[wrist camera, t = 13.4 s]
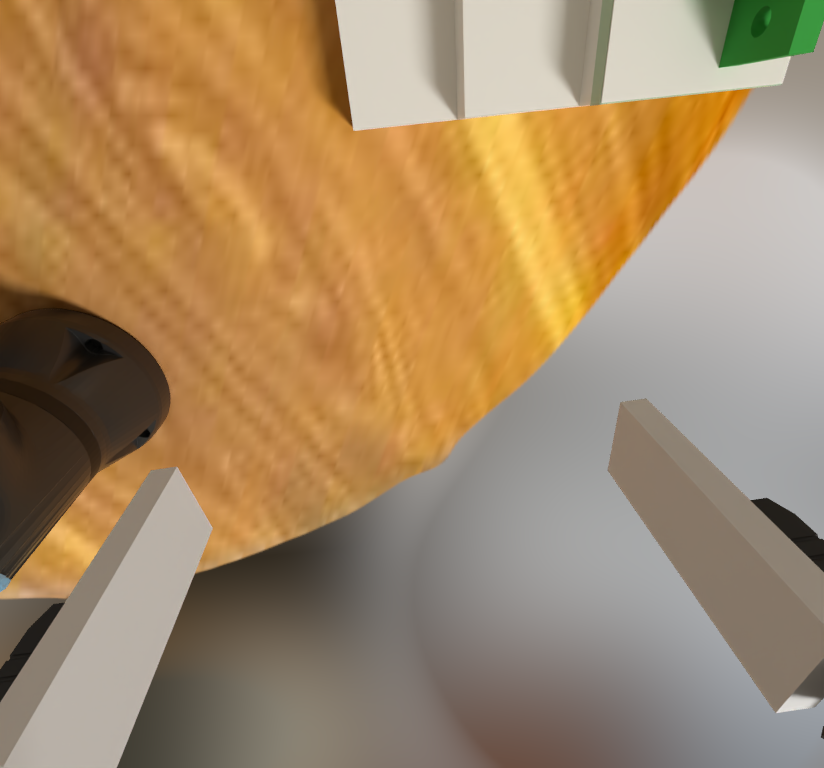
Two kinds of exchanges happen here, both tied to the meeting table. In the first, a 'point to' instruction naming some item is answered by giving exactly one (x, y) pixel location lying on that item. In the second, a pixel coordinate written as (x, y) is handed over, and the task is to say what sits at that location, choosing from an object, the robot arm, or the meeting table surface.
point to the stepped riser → (531, 56)
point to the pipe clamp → (771, 30)
